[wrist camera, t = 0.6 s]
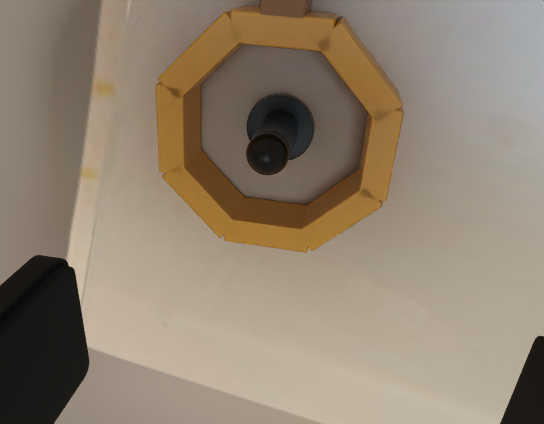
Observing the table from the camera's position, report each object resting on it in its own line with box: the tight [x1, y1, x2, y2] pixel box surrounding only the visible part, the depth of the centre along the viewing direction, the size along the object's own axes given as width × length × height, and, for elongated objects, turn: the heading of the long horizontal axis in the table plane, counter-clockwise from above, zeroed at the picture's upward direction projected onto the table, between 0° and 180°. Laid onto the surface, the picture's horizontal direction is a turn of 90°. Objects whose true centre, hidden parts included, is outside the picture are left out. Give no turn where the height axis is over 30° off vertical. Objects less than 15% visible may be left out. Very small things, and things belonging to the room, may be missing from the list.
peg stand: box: [246, 94, 314, 175], centre depth 23 cm, size 4×4×5 cm
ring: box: [156, 0, 404, 252], centre depth 24 cm, size 15×12×3 cm
